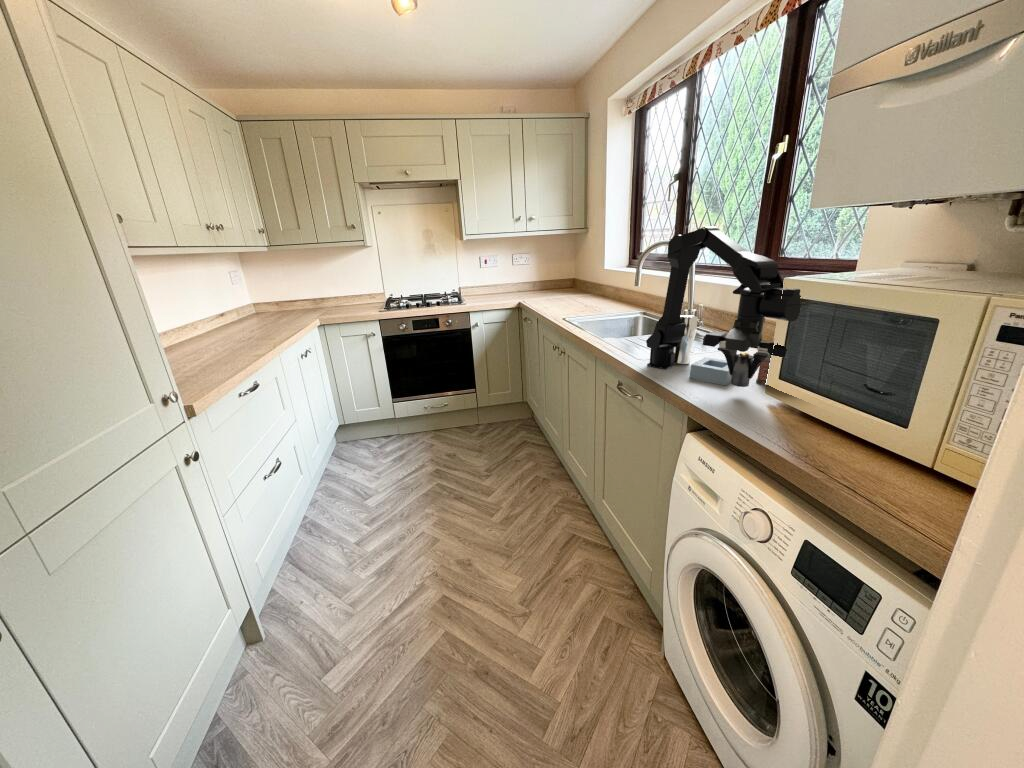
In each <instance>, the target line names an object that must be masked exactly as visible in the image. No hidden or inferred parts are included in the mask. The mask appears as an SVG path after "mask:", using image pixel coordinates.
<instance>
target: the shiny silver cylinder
mask: <svg viewBox="0 0 1024 768" xmlns="http://www.w3.org/2000/svg"><path fill="white" fill-rule="evenodd" d="M680 317H681V320H682V322H683V323H685V324H686V328H685V333H684V334H685V336H684V337H683V338H682V340H681V341H680V343H679V346H678V347H674V352H675V358H674V363H675V364H676V365H689V364H690V362H691V361H690V353H691V349H692V346H693V345H694V344H693V343H694V341H695V338H696V335H697V328H698V318H699V316H696V315H688V314H687V315H685V314H684V315H683V314H681V316H680Z"/></svg>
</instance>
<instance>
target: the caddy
mask: <svg viewBox="0 0 1024 768" xmlns="http://www.w3.org/2000/svg"><path fill="white" fill-rule="evenodd" d="M692 378H693V380H698V381H703V382H707V383H713V384H718V385H721V386H722V385H723V386H727V385H728V384H731V378H732V375H730V373H729V368H728V364H727V361H726V359H725V360H724V359H718V358H713V357H712V358H711V357H706V356H705V357H704V358H701V359H699V360H697V361H695V362H693V363H691V364H690V370H689V379H692Z"/></svg>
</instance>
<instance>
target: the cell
mask: <svg viewBox="0 0 1024 768" xmlns="http://www.w3.org/2000/svg"><path fill="white" fill-rule="evenodd" d="M752 362H753V355H751V354H750V353H748V352H740V353H737V354H736V355H735V359H734V365H733V371H732V378H731V382H730V385H731V386H734V387H737V388H738V387H741V388H746V387H749V385H750V380H751V379H749V373H750V369H751V366H752Z"/></svg>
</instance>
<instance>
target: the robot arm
mask: <svg viewBox="0 0 1024 768" xmlns="http://www.w3.org/2000/svg"><path fill="white" fill-rule="evenodd" d="M706 248H707V249H708V250H709V251H711V252H712V253H713V254H715V255H716V256H717V257H719V259H720V260H722V261H723V262H724V263H726V264H727V265H729V267H731V269H732V273H733V276H734V277H735V278H736V279H737V281H738V282H739V283H740V286H738V287H737V288H736V289H734V290H733V291H732V294H733V295H739V301H738V309H737V315H736V319H735V320H734V323H733V326H732V327H731V329H730V330H729V332H724V331H723V332H722V331H711V332H709V333H706V334H705V335H704V336H703V338H702V346H706V347H713V348H715V347H716V346H717V345H718V347H717V351H718V352H719V351H720V352H721V353H722V355H724V357H725V361H727V364H728V368H729V373H730V375H732V371H733V365H734V359H735V355H736V354H738V351H739V352H740V353H746V352H747V351H749V349H756V350H757V351H756V352H754V353H753V355H752V356H753V362H752V366H751V369H750V373H749V379H750V380H751V379H752V378H753V377H754V375H755V373H756V372H757V371H758V370H759V367H760V364H761V363H762V361H763V360H764V359H765V358H768V357H769V356H771V355H773V356H779V357H785V354H786V351H787V349H786V347H784V346H781V345H778V343H777V345H775V346H774V349H773V345H774V340H775V339H773V340H772V341H764V340H763V341H762V339H763V328H764V324H765V322H766V318H768V319H775V320H781V321H785V322H795V321H796V320H798V319H799V318H798V315H799V313H800V307H801V304H800V301H801V300H800V297H801V296H802V295H800V294H801V289H800V288H786V289H783V282H784V280H783V278H782V276H781V273H780V272H779V265H778V263H777V261H776V260H774V259H771V258H769V257H767V256H764V255H762V254H761V255H760V254H757V253H754V252H750V251H749V250H747V249H746V248H744V247H743V246H742V245H741V244H739V243H738V242H736V241H735V240H734V239H733V238H730V237H729V236H728V235H727V234H726V233H723V232H722V231H721V229H720V228H719V227H717V226H701V228H698V229H695V230H693V231H689V232H686V233H684V234H675V235H673V236H672V238H670V239H669V241H668V244H667V260H668V262H669V265H670V272H669V279H668V285H667V290H666V294H665V295H666V296H665V302H664V307H663V313H662V315H661V317H660V318H659V319H658V320H657V322H656V323H655V327H654V330H653V333H652V334H650V336H649V337H648V338H647V339H646V341H645V343H646V347H647V348H649V349H650V354H649V356H650V357H649V362H648V363H647V364H646V366H647V367H653V368H658V369H662V370H667V369H669V368H671V367H673V366H675V364H676V363H674V358H675V352H674V347H678V346H679V343H680V341H681V340H682V338H683V337H684V336H685V334H684V333H685V328H686V324H685V323H683V322H682V320H681V317H680V316H681V315H682V308H683V305H684V304H683V303H684V300H685V295H686V289H687V283H688V279H689V273H690V270H691V268H692V266H693V264H694V263H695V262H696V260H697V259H698V257H699V254H700V251H701V250H703V249H706ZM782 290H783V294H782ZM781 296H782V299H781ZM797 318H798V319H797ZM772 353H773V354H772Z"/></svg>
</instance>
